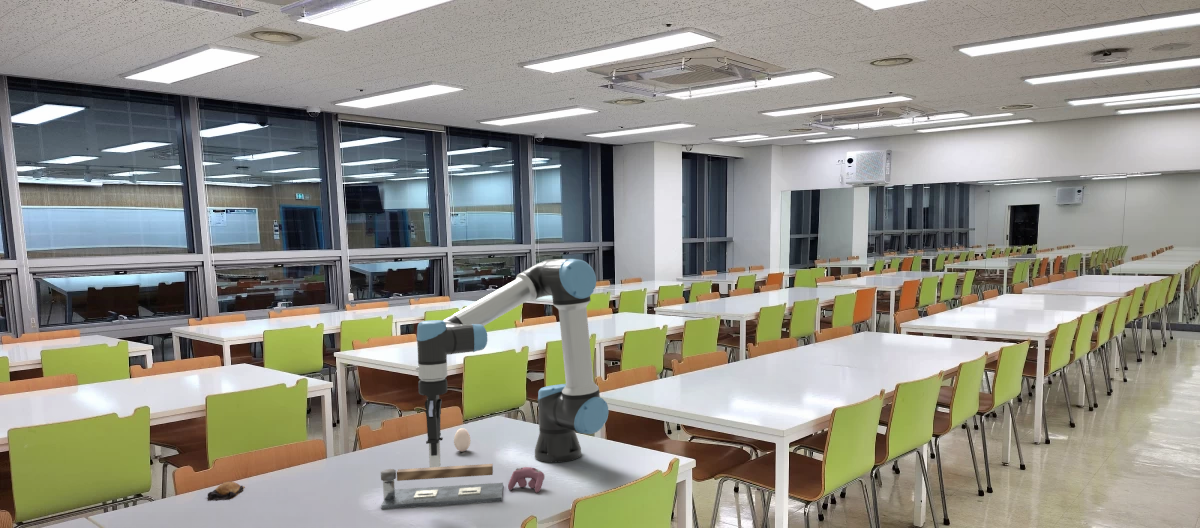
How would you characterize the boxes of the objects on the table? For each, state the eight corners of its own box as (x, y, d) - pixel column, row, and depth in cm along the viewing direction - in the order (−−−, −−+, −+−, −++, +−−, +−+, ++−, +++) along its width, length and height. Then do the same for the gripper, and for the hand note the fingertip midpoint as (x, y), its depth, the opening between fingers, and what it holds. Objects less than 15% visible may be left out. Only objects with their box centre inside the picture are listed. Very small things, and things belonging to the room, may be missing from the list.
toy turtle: (218, 490, 216) (217, 478, 215) (248, 488, 216) (247, 476, 216) (202, 503, 205) (201, 490, 205) (233, 501, 206) (232, 488, 206)
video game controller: (543, 494, 207) (547, 469, 209) (537, 492, 203) (541, 466, 205) (512, 491, 210) (516, 466, 213) (505, 489, 206) (509, 464, 209)
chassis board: (503, 486, 210) (502, 467, 210) (501, 501, 198) (501, 481, 198) (388, 493, 207) (387, 474, 207) (379, 509, 195) (378, 488, 195)
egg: (462, 448, 250) (462, 425, 249) (474, 450, 246) (473, 427, 246) (450, 452, 245) (450, 429, 245) (462, 454, 242) (461, 431, 242)
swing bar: (379, 482, 199) (379, 474, 199) (382, 478, 203) (382, 469, 203) (492, 475, 202) (492, 467, 202) (493, 471, 206) (492, 462, 206)
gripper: (421, 374, 200) (424, 459, 201) (414, 383, 187) (417, 474, 188) (449, 373, 201) (451, 458, 202) (444, 382, 188) (446, 473, 189)
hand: (435, 466), depth 195 cm, fingers closed
